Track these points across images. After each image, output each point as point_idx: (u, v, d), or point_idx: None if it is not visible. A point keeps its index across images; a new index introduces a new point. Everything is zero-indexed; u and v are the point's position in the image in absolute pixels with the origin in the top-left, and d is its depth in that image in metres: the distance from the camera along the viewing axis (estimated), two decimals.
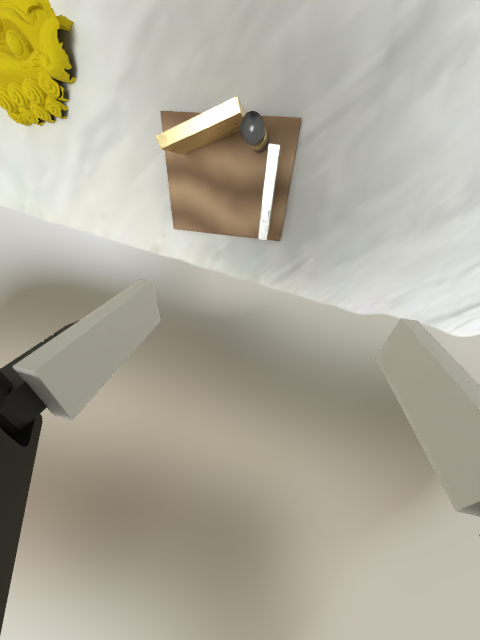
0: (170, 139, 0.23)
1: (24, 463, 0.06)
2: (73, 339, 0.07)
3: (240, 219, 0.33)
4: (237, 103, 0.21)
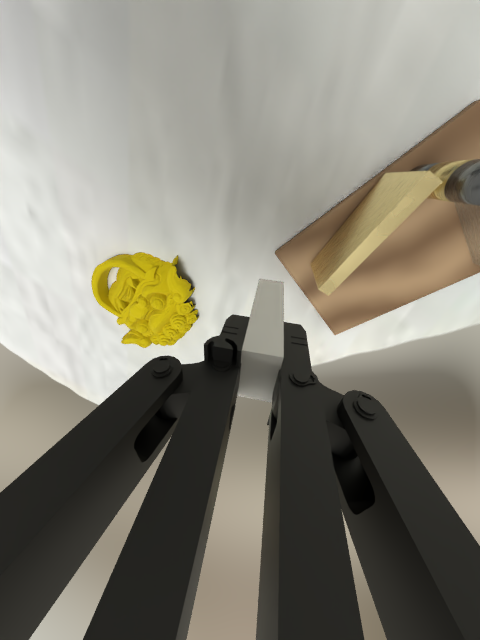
0: (339, 280, 0.18)
1: (225, 447, 0.06)
2: (261, 329, 0.08)
3: (426, 275, 0.23)
4: (432, 176, 0.13)
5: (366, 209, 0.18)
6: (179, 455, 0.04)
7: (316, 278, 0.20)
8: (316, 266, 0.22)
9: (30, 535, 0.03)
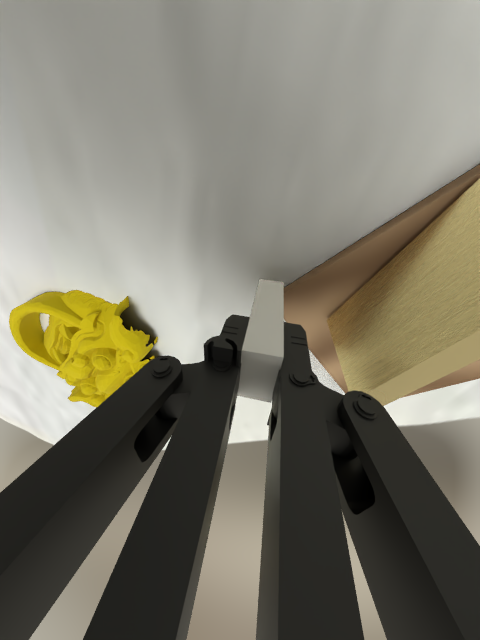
0: (397, 392, 0.09)
1: (225, 447, 0.06)
2: (262, 329, 0.08)
3: None
4: None
5: (447, 247, 0.09)
6: (179, 455, 0.04)
7: (343, 365, 0.11)
8: (339, 333, 0.13)
9: (30, 535, 0.03)
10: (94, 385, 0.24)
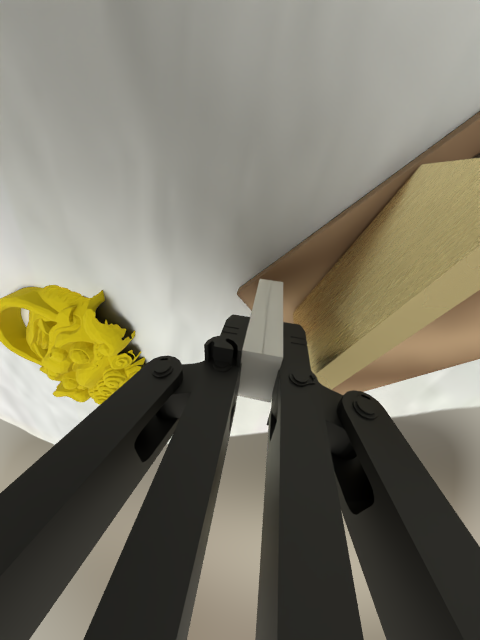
0: (336, 378, 0.09)
1: (226, 448, 0.06)
2: (262, 329, 0.08)
3: None
4: None
5: (386, 235, 0.09)
6: (180, 455, 0.04)
7: None
8: None
9: (31, 535, 0.03)
10: (75, 379, 0.24)
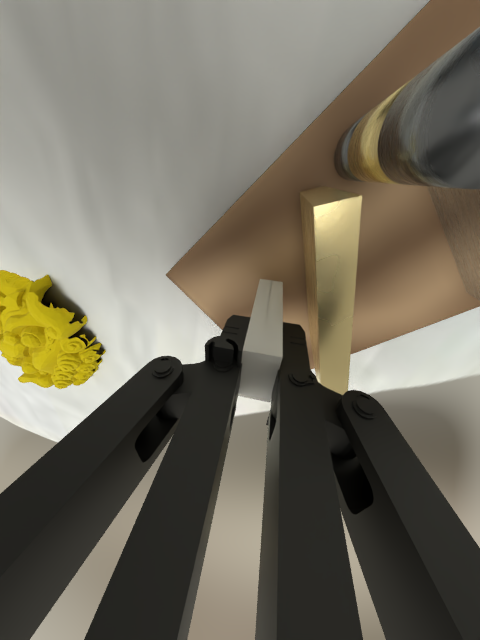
0: (339, 393, 0.10)
1: (226, 448, 0.06)
2: (262, 329, 0.08)
3: (392, 309, 0.14)
4: (332, 205, 0.06)
5: (306, 260, 0.11)
6: (180, 455, 0.04)
7: (316, 377, 0.13)
8: (312, 346, 0.14)
9: (31, 536, 0.03)
10: None
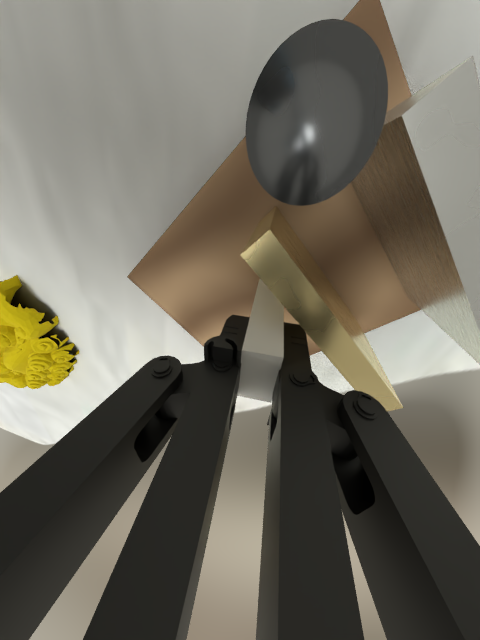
0: (380, 390, 0.09)
1: (225, 447, 0.06)
2: (262, 329, 0.08)
3: None
4: (253, 247, 0.06)
5: None
6: (179, 455, 0.04)
7: None
8: None
9: (30, 535, 0.03)
10: None
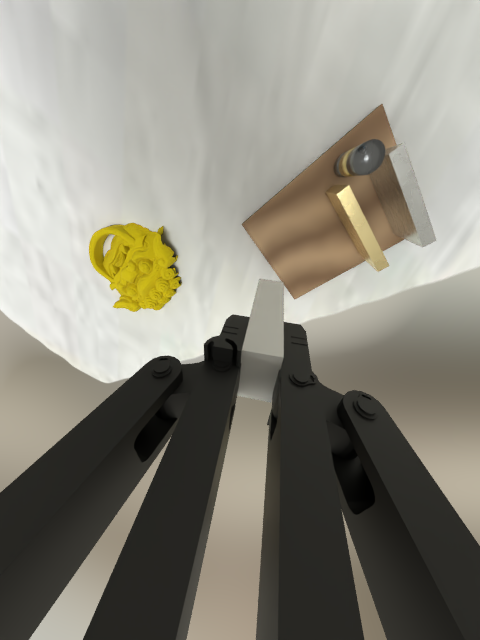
0: (380, 256, 0.22)
1: (225, 447, 0.06)
2: (262, 329, 0.08)
3: None
4: (341, 191, 0.20)
5: (340, 215, 0.25)
6: (179, 455, 0.04)
7: (370, 264, 0.25)
8: (363, 256, 0.27)
9: (30, 535, 0.03)
10: (135, 289, 0.38)
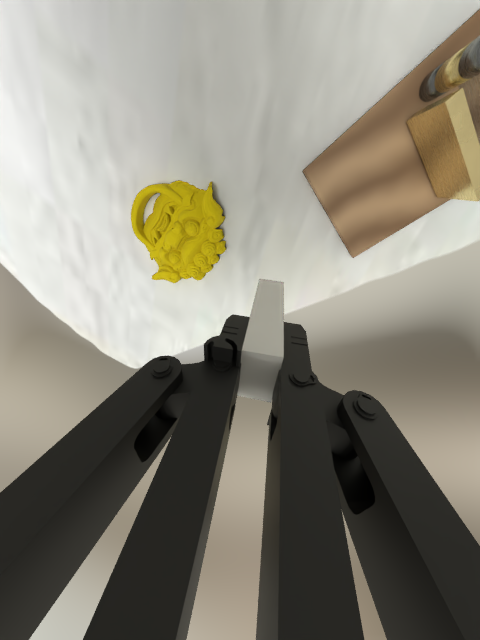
0: None
1: (225, 447, 0.06)
2: (262, 329, 0.08)
3: None
4: (452, 97, 0.17)
5: (428, 143, 0.22)
6: (179, 455, 0.04)
7: (462, 198, 0.22)
8: (446, 193, 0.24)
9: (30, 535, 0.03)
10: (178, 256, 0.36)
